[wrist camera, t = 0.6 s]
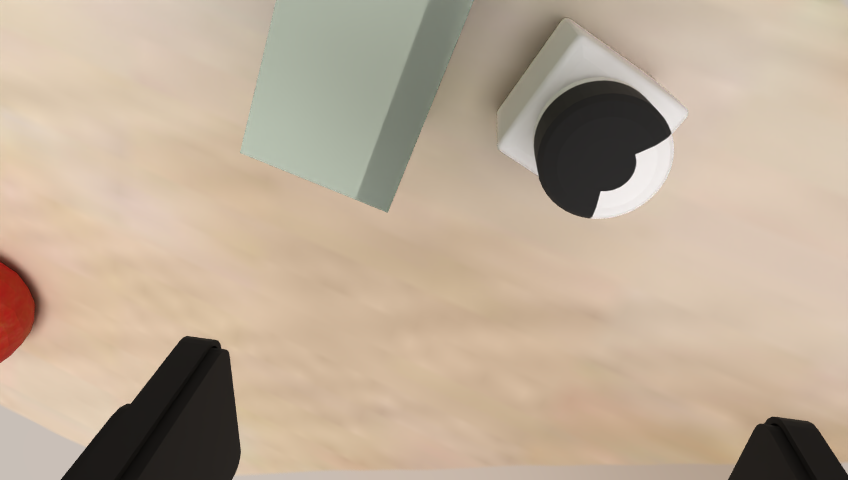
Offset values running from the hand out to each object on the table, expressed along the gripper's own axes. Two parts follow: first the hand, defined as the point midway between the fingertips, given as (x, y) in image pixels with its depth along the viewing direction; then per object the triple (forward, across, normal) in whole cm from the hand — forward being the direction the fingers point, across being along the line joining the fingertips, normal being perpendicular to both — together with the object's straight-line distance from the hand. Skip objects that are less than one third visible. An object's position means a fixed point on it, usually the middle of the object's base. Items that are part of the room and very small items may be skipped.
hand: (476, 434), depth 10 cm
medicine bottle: (+29, -5, +1) cm, 30 cm away
